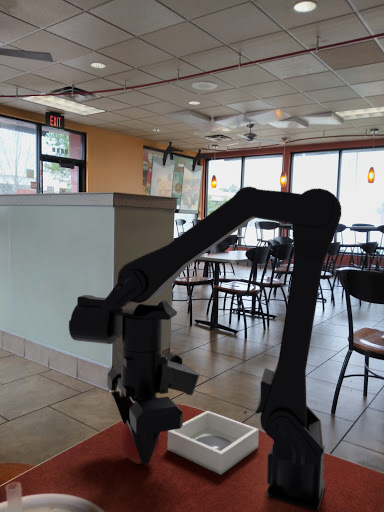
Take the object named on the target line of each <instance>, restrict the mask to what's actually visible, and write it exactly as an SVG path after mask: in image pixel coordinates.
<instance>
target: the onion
mask: <svg viewBox="0 0 384 512" xmlns="http://www.w3.org/2000/svg"><path fill="white" fill-rule="evenodd" d="M160 441H161V434H160V435H159V437H158V440H157V442H156V445H155V448H154V451H153V454H152V457H153V456H155V454H156V452H157V451H158V448H159V446H160V443H161V442H160ZM119 445H120V449H121V451H122V453H123V454H124V456H125V457H127V458H128V459H129V460H131V461H132V462H133V463H135V464H137V465H141V464H142V463H141V460H140V457H139V454H138V452H137V449H136V446H135V443H134V440H133V437H132V434H131V432H130V429H129V426H128V423H127V422H126V423H125V425H124V424H123V427H122V429H121V431H120V434H119Z"/></svg>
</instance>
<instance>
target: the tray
mask: <svg viewBox="0 0 384 512" xmlns="http://www.w3.org/2000/svg"><path fill="white" fill-rule="evenodd" d="M258 448H259V428H258V427H257V428H256V427H254V426H252V425H248V424H245V423H243V422H240V421H237V420H234V419H232V418H229V417H227V416H223V415H221V414H218V413H215V412H213V411H210V410H206V411H204V412H202V413H200V414H199V415H198V414H197V415H196V416H194V417H193V418H191V419H189V420H186V421H185V422H184V421H183V426H182V427H181V428H180V429H175V430H169V431H167V448H166V449H167V451H170V452H172V453H174V454H175V455H178V456H180V457H182V458H184V459H186V460H188V461H191V462H192V463H195V464H197V465H199V466H201V467H203V468H205V469H208V470H210V471H212V472H214V473H216V474H219V475H221V476H222V475H223V474H224V473H226V472H227V471H228V470H230V469H231V468H233V467H234V466H235V465H237V463H239V462H241V461H242V460H243V459H244V458H246V457H247V456H248V455H250V454H252V453H253V452H255V451H256V450H257V449H258Z"/></svg>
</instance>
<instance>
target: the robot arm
mask: <svg viewBox="0 0 384 512" xmlns="http://www.w3.org/2000/svg"><path fill="white" fill-rule="evenodd" d="M341 217H342V206H341V202H340V201H339V199H338V198H337V197H336V195H335V194H334V193H332V192H331V191H330V190H328V189H323V188H311V189H307V190H305V191H303V193H296V192H288V191H279V190H269V189H268V190H266V189H259V188H256V187H253V186H244V187H242V188H240V189H239V190H237V191H236V193H235V194H234V195H233V196H232V197H231V198H229V199H228V200H227V201H225V202H224V203H223V204H222V205H220V206H219V207H217V208H216V209H215V210H213V211H211V213H209V214H208V215H206V216H205V217H203V218H202V219H201V220H200V221H198V222H197V223H195V224H194V225H192V226H191V227H190V228H188V230H186V231H185V232H183V233H182V234H180V235H179V236H177V238H175V239H174V240H172V241H171V242H169V243H168V244H166V245H165V246H163V247H160V248H158V249H156V250H153V251H151V252H148V253H145V254H144V255H142V256H140V257H137V258H136V259H133V260H131V261H129V262H127V263H126V264H124V265H123V266H122V267H121V268H120V270H119V271H118V273H117V283H116V284H115V285H114V287H113V288H112V289H111V291H110V293H109V294H108V295H107V296H106V297H103V296H102V297H99V296H98V297H97V296H94V295H89V294H83V295H80V296H78V297H77V304H76V306H74V308H73V310H72V313H71V317H70V320H69V321H68V331H69V335H70V337H71V339H73V341H77V342H85V343H86V342H87V343H93V344H95V343H97V344H104V345H106V344H107V345H112V344H114V343H115V342H116V341H117V339H119V338H121V350H118V352H117V353H118V359H119V360H120V361H121V366H115V367H114V366H113V367H112V368H111V369H110V370H109V371H108V373H107V377H106V378H107V379H106V381H107V382H106V383H107V387H108V388H109V390H110V391H112V392H111V396H112V399H113V401H114V404H115V406H116V409H117V412H118V414H119V416H120V419H121V421H122V424H123V426H124V425H125V423H126V422H127V423H128V426H129V429H130V432H131V434H132V437H133V440H134V443H135V446H136V449H137V452H138V454H139V457H140V460H141V464H142V465H147V464H150V462H151V460H152V457H153V456H152V454H153V451H154V448H155V445H156V442H157V440H158V437H159V435H160V436H161V433H162V432H168V431H169V430H175V429H180V428H181V427H182V426H183V423H184V412H183V410H182V409H181V408H180V407H179V406H178V405H177V404H176V403H175V402H174V401H173V400H172V398H170V397H169V396H164V397H157V394H160V395H162V394H163V395H164V394H169V389H170V390H174V391H178V392H182V393H185V395H187V396H193V395H194V392H195V389H196V386H197V383H198V382H199V378H200V376H201V375H200V374H199V373H198V372H197V371H196V370H194V369H193V368H192V367H191V366H188V365H187V364H185V363H183V357H182V356H180V355H179V354H177V353H174V352H170V353H168V355H164V354H163V351H162V349H163V348H162V346H163V320H166V321H167V320H171V319H172V318H174V317H176V316H177V315H178V312H177V310H176V309H174V307H172V306H171V305H170V303H169V302H168V300H167V299H163V300H162V301H160V302H158V304H150V303H149V304H147V303H144V302H147V301H149V300H151V299H154V298H156V297H158V296H161V295H162V294H163V293H165V291H166V290H167V289H168V288H169V287H170V286H171V285H172V284H173V283H174V282H176V281H177V279H178V278H179V276H180V275H181V274H182V273H183V272H184V270H185V269H186V268H187V267H188V266H189V265H190V264H191V263H193V262H194V261H196V260H198V258H200V257H202V256H203V255H204V254H206V253H207V252H209V251H210V250H211V249H213V248H214V247H216V246H217V245H219V244H220V243H221V242H223V241H224V240H225V239H227V238H228V237H230V236H231V235H232V234H234V233H235V232H237V231H238V230H240V229H241V228H242V227H244V226H245V225H247V224H248V223H249V222H251V221H253V220H254V219H255V220H256V219H258V220H259V219H260V220H266V221H271V222H277V223H283V224H289V225H291V227H292V249H293V250H292V252H293V262H292V263H293V266H292V270H291V271H292V272H291V278H290V284H289V290H288V295H287V301H286V302H287V304H286V309H285V316H284V323H283V327H282V328H283V329H282V333H281V334H282V335H281V341H280V347H279V355H278V360H277V363H276V366H275V368H274V370H271V369H268V368H266V367H265V368H264V369H263V374H262V376H261V381H260V394H259V398H258V402H257V406H256V409H255V414H257V415H259V414H260V417H259V418H260V425H261V429H262V430H263V431H264V433H265V434H266V436H268V437H269V438H270V439H272V440H273V441H272V442H273V443H272V447H271V448H270V451H269V452H268V453H267V473H266V482H267V485H269V487H268V489H267V491H266V496H267V497H268V498H271V499H274V500H277V501H280V502H281V501H282V502H284V503H286V504H287V503H288V504H290V505H294V506H298V507H301V508H305V509H308V510H312V511H315V512H316V511H319V510H320V506H321V502H322V498H323V495H324V490H325V487H326V481H325V480H324V466H325V465H324V464H325V445H324V442H323V441H324V440H323V431H322V421H321V419H320V418H319V417H318V416H317V414H316V413H315V412H313V410H312V409H311V408H310V407H309V406H308V405H307V378H306V377H307V372H306V371H307V366H308V365H307V364H308V360H309V359H308V358H309V352H310V346H311V339H312V334H313V328H314V321H315V316H316V310H317V309H316V308H317V302H318V297H319V290H320V289H319V288H320V284H321V278H322V272H323V271H322V270H323V266H324V263H325V261H326V258H327V257H328V253H329V251H330V249H331V246H332V244H333V241H334V238H335V235H336V232H337V229H338V226H339V223H340V221H341ZM133 303H135V304H137V306H136V307H135V308H127V307H126V308H124V307H125V306H128V305H130V304H133ZM114 390H116V391H114Z"/></svg>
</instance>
